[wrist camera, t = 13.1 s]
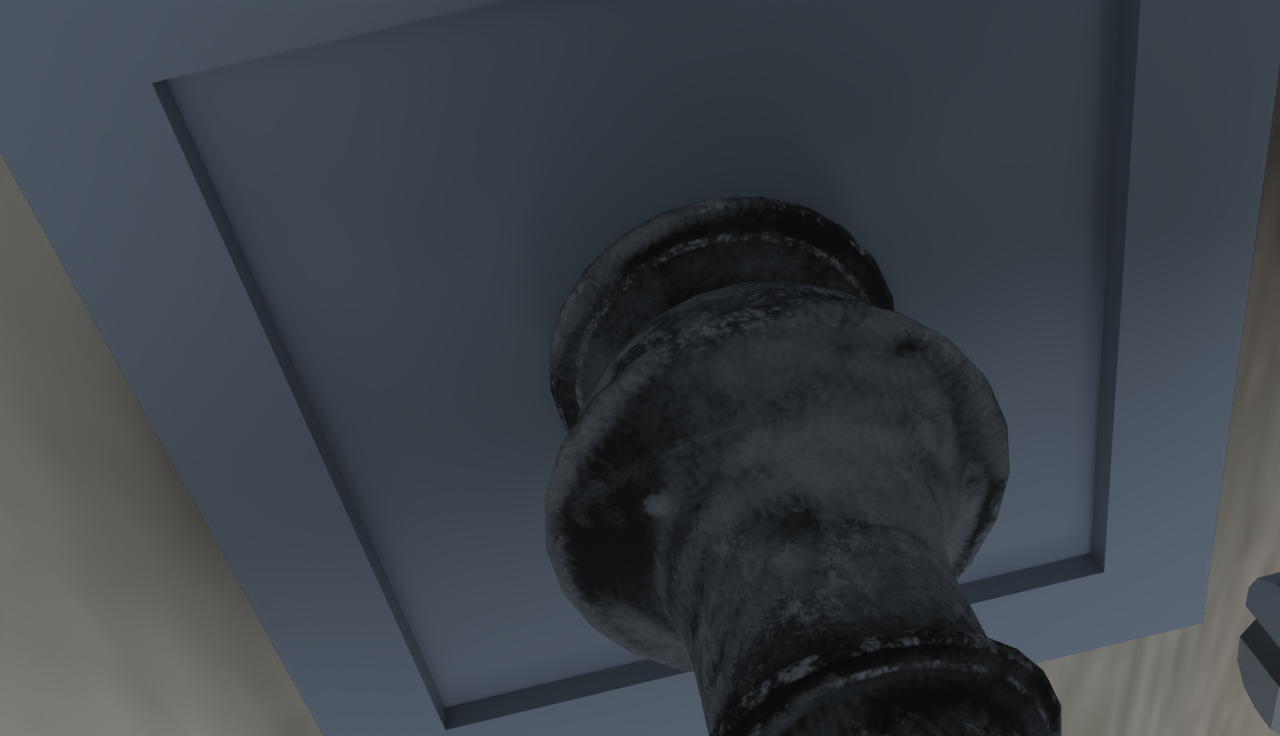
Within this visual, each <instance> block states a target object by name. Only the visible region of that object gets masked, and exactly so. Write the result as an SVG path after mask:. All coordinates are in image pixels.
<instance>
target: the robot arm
mask: <svg viewBox="0 0 1280 736" xmlns="http://www.w3.org/2000/svg"><path fill="white" fill-rule="evenodd" d="M1246 607H1247V608H1248V609H1249V610H1250V612H1251V613H1252V614H1253V615H1254V617H1255V618H1256V619H1255V621H1254V622H1253V623H1252V624H1251V625H1250V626H1249V627H1248V628H1247V629H1246V630H1245V631H1244V633H1243V634H1242V635H1241V636H1240V640H1239V649H1238V658H1237V661H1238V665H1239V669H1240V673H1241V677H1242V681H1243V685H1244V687H1245V689H1246V691H1247V693H1248V695H1249V697H1250V699H1251V701H1252V703H1253V705H1254V707H1255V709H1256V710H1257V711H1258V713H1259V714H1260V715H1261V717H1262V718H1263V720H1264V721H1265V722H1266V724H1267V725H1268V727H1269V728H1270V729H1271V730H1273V731H1275V732H1277V733H1278V734H1280V572H1279V573H1275V574H1271V575H1267V576H1263V577H1259V578H1257V579H1256V580H1255V581H1254V582H1253V583H1252V585H1251V586H1250V587H1249V590H1248V595H1247V600H1246Z"/></svg>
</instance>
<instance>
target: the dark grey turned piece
mask: <svg viewBox="0 0 1280 736" xmlns="http://www.w3.org/2000/svg"><path fill="white" fill-rule="evenodd" d="M550 387H551V392H552V395H553V398H554V401H555V404H556V407H557V410H558V413H559V416H560V418H561V421H562V424H563V427H564V428H565V430H566V431H567V432H568V435H567V437H566V438H565V440H564V441H563V442H562V444H561V446H560V449H559V452H558V455H557V458H556V461H555V465H554V468H553V471H552V474H551V477H550V480H549V484H548V487H547V490H546V493H545V538H546V551H547V553H548V556H549V559H550V561H551V564H552V566H553V569H554V571H555V574H556V577H557V579H558V582H559V584H560V587H561V589H562V592H563V594H564V595H565V596H566V597H567V598H568V600H569V601H570V602H571V603H572V604H573V606H574V607H575V608H576V609H577V610H578V611H579V613H580V614H581V615H582V616H583V617H584V618H585V620H586V621H587V622H588V623H589V624H590V625H591V627H592V628H593V629H595V630H596V631H598V632H600V633H601V634H603V635H604V636H606V637H607V638H609V639H610V640H612V641H614V642H615V643H617V644H618V645H620V646H621V647H623V648H624V649H626V650H628V651H629V652H631V653H632V654H634V655H637V656H640V657H643V658H646V659H649V660H652V661H655V662H658V663H661V664H664V665H667V666H670V667H673V668H676V669H679V670H682V671H689V672H694V673H695V677H696V681H697V686H698V690H699V694H700V699H701V703H702V707H703V712H704V716H705V720H706V725H707V729H708V733H709V736H1061V705H1060V702H1059V700H1058V698H1057V696H1056V694H1055V692H1054V690H1053V688H1052V686H1051V684H1050V682H1049V680H1048V678H1047V676H1046V674H1045V673H1044V671H1043V670H1042V669H1041V668H1040V667H1038V666H1037V665H1036V664H1035V663H1034V662H1032V661H1031V660H1030V659H1029V658H1028V657H1026V656H1025V655H1024V654H1023V653H1022V652H1021V651H1019V650H1018V649H1017V648H1014V647H1012V646H1009V645H1006V644H1004V643H1001V642H998V641H996V640H993V639H991V638H988V637H987V635H986V634H985V632H984V630H983V628H982V626H981V624H980V622H979V620H978V619H977V617H976V615H975V613H974V611H973V609H972V607H971V605H970V604H969V602H968V600H967V598H966V596H965V594H964V592H963V590H962V589H961V587H960V585H959V583H958V581H957V579H958V578H959V577H960V576H961V575H962V573H963V572H964V571H965V570H966V569H967V568H968V567H969V566H970V565H971V563H972V561H973V560H974V558H975V556H976V555H977V553H978V551H979V549H980V548H981V546H982V544H983V543H984V541H985V539H986V537H987V536H988V534H989V532H990V531H991V529H992V527H993V525H994V524H995V522H996V520H997V519H998V515H999V511H1000V507H1001V504H1002V500H1003V496H1004V492H1005V489H1006V485H1007V481H1008V477H1009V473H1010V462H1009V445H1008V427H1007V422H1006V420H1005V418H1004V415H1003V413H1002V411H1001V409H1000V406H999V404H998V402H997V399H996V397H995V395H994V392H993V390H992V388H991V385H990V383H989V381H988V379H987V378H986V377H985V375H984V374H983V373H982V372H981V371H980V370H979V369H978V368H977V367H976V366H975V365H974V364H973V363H972V362H971V361H970V360H969V359H968V357H967V356H966V355H965V354H964V353H963V352H962V351H961V350H960V349H959V348H958V347H957V346H956V345H955V344H954V343H953V342H952V341H951V340H950V339H949V338H947V337H945V336H943V335H942V334H940V333H938V332H936V331H934V330H932V329H930V328H928V327H926V326H925V325H923V324H921V323H919V322H917V321H915V320H913V319H911V318H909V317H907V316H906V315H904V314H902V313H900V312H896V311H895V310H894V301H893V296H892V294H891V292H890V290H889V288H888V285H887V283H886V281H885V279H884V277H883V275H882V273H881V271H880V268H879V266H878V264H877V262H876V261H875V259H874V258H873V257H872V256H871V254H870V253H869V252H868V251H867V250H866V249H865V248H864V247H863V246H862V245H861V244H860V243H859V242H858V241H857V240H856V239H855V238H854V237H853V236H852V235H851V234H850V232H849V231H848V230H847V229H846V228H844V227H842V226H840V225H839V224H837V223H835V222H833V221H831V220H830V219H828V218H826V217H824V216H822V215H820V214H819V213H817V212H815V211H813V210H811V209H810V208H808V207H804V206H800V205H795V204H791V203H787V202H782V201H778V200H774V199H769V198H765V197H740V198H712V199H709V200H705V201H702V202H698V203H694V204H691V205H687V206H683V207H680V208H676V209H673V210H669V211H665V212H663V213H661V214H660V215H658V216H656V217H654V218H652V219H651V220H649V221H647V222H645V223H643V224H642V225H640V226H638V227H636V228H634V229H632V230H631V231H629V232H627V233H625V234H623V235H622V236H620V237H619V238H618V239H617V240H616V241H615V242H614V243H613V244H612V245H611V246H610V247H608V248H607V249H606V250H605V251H604V252H603V253H602V254H601V255H600V256H599V257H598V258H597V259H595V260H594V261H593V262H592V263H591V264H590V265H589V266H588V267H587V268H586V269H585V271H584V272H583V274H582V275H581V277H580V278H579V280H578V282H577V283H576V285H575V286H574V288H573V289H572V291H571V293H570V294H569V296H568V297H567V299H566V300H565V302H564V304H563V305H562V307H561V310H560V314H559V317H558V320H557V324H556V327H555V331H554V334H553V337H552V341H551V344H550Z"/></svg>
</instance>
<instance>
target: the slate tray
mask: <svg viewBox="0 0 1280 736" xmlns="http://www.w3.org/2000/svg"><path fill="white" fill-rule="evenodd" d="M1279 68H1280V0H0V153H1V154H2V156H3V158H4V160H5V162H6V163H7V165H8V167H9V169H10V171H11V172H12V174H13V176H14V178H15V180H16V182H17V183H18V185H19V187H20V189H21V191H22V192H23V194H24V196H25V198H26V200H27V201H28V203H29V205H30V207H31V209H32V210H33V212H34V214H35V216H36V218H37V219H38V221H39V223H40V225H41V227H42V228H43V230H44V232H45V234H46V236H47V238H48V239H49V241H50V243H51V245H52V247H53V248H54V250H55V252H56V254H57V256H58V257H59V259H60V261H61V263H62V265H63V266H64V268H65V270H66V272H67V274H68V275H69V277H70V279H71V281H72V283H73V284H74V286H75V288H76V290H77V292H78V294H79V295H80V297H81V299H82V301H83V303H84V304H85V306H86V308H87V310H88V312H89V313H90V315H91V317H92V319H93V321H94V322H95V324H96V326H97V328H98V330H99V331H100V333H101V335H102V337H103V339H104V340H105V342H106V344H107V346H108V348H109V349H110V351H111V353H112V355H113V357H114V359H115V360H116V362H117V364H118V366H119V368H120V369H121V371H122V373H123V375H124V377H125V378H126V380H127V382H128V384H129V386H130V387H131V389H132V391H133V393H134V395H135V396H136V398H137V400H138V402H139V404H140V405H141V407H142V409H143V411H144V413H145V415H146V416H147V418H148V420H149V422H150V424H151V425H152V427H153V429H154V431H155V433H156V434H157V436H158V438H159V440H160V442H161V443H162V445H163V447H164V449H165V451H166V452H167V454H168V456H169V458H170V460H171V461H172V463H173V465H174V467H175V469H176V471H177V472H178V474H179V476H180V478H181V480H182V481H183V483H184V485H185V487H186V489H187V490H188V492H189V494H190V496H191V498H192V499H193V501H194V503H195V505H196V507H197V508H198V510H199V512H200V514H201V516H202V517H203V519H204V521H205V523H206V525H207V526H208V528H209V530H210V532H211V534H212V536H213V537H214V539H215V541H216V543H217V545H218V546H219V548H220V550H221V552H222V554H223V555H224V557H225V559H226V561H227V563H228V564H229V566H230V568H231V570H232V572H233V573H234V575H235V577H236V579H237V581H238V582H239V584H240V586H241V588H242V590H243V592H244V593H245V595H246V597H247V599H248V601H249V602H250V604H251V606H252V608H253V610H254V611H255V613H256V615H257V617H258V619H259V620H260V622H261V624H262V626H263V628H264V629H265V631H266V633H267V635H268V637H269V638H270V640H271V642H272V644H273V646H274V648H275V649H276V651H277V653H278V655H279V657H280V658H281V660H282V662H283V664H284V666H285V667H286V669H287V671H288V673H289V675H290V676H291V678H292V680H293V682H294V684H295V685H296V687H297V689H298V691H299V693H300V694H301V696H302V698H303V700H304V702H305V703H306V705H307V707H308V709H309V711H310V713H311V714H312V716H313V718H314V720H315V722H316V723H317V725H318V727H319V729H320V731H321V732H322V734H323V736H709V733H708V729H707V725H706V720H705V716H704V712H703V707H702V703H701V699H700V694H699V690H698V686H697V681H696V677H695V673H694V672H689V671H682V670H679V669H676V668H673V667H670V666H667V665H664V664H661V663H658V662H655V661H652V660H649V659H646V658H643V657H640V656H637V655H634V654H632V653H631V652H629V651H628V650H626V649H624V648H623V647H621V646H620V645H618V644H617V643H615V642H614V641H612V640H610V639H609V638H607V637H606V636H604V635H603V634H601V633H600V632H598V631H596V630H595V629H593V628H592V627H591V625H590V624H589V623H588V622H587V621H586V620H585V618H584V617H583V616H582V615H581V614H580V613H579V611H578V610H577V609H576V608H575V607H574V606H573V604H572V603H571V602H570V601H569V600H568V598H567V597H566V596H565V595H564V594H563V592H562V589H561V587H560V584H559V582H558V579H557V577H556V574H555V571H554V569H553V566H552V564H551V561H550V559H549V556H548V553H547V551H546V538H545V493H546V490H547V487H548V484H549V480H550V477H551V474H552V471H553V468H554V465H555V461H556V458H557V455H558V452H559V449H560V446H561V444H562V442H563V441H564V440H565V438H566V437H567V435H568V432H567V431H566V430H565V428H564V427H563V424H562V421H561V418H560V416H559V413H558V410H557V407H556V404H555V401H554V398H553V395H552V392H551V387H550V344H551V341H552V337H553V334H554V331H555V327H556V324H557V320H558V317H559V314H560V310H561V307H562V305H563V304H564V302H565V300H566V299H567V297H568V296H569V294H570V293H571V291H572V289H573V288H574V286H575V285H576V283H577V282H578V280H579V278H580V277H581V275H582V274H583V272H584V271H585V269H586V268H587V267H588V266H589V265H590V264H591V263H592V262H593V261H594V260H595V259H597V258H598V257H599V256H600V255H601V254H602V253H603V252H604V251H605V250H606V249H607V248H608V247H610V246H611V245H612V244H613V243H614V242H615V241H616V240H617V239H618V238H619V237H620V236H622V235H623V234H625V233H627V232H629V231H631V230H632V229H634V228H636V227H638V226H640V225H642V224H643V223H645V222H647V221H649V220H651V219H652V218H654V217H656V216H658V215H660V214H661V213H663V212H665V211H669V210H673V209H676V208H680V207H683V206H687V205H691V204H694V203H698V202H702V201H705V200H709V199H712V198H740V197H765V198H769V199H774V200H778V201H782V202H787V203H791V204H795V205H800V206H804V207H808V208H810V209H811V210H813V211H815V212H817V213H819V214H820V215H822V216H824V217H826V218H828V219H830V220H831V221H833V222H835V223H837V224H839V225H840V226H842V227H844V228H846V229H847V230H848V231H849V232H850V234H851V235H852V236H853V237H854V238H855V239H856V240H857V241H858V242H859V243H860V244H861V245H862V246H863V247H864V248H865V249H866V250H867V251H868V252H869V253H870V254H871V256H872V257H873V258H874V259H875V261H876V262H877V264H878V266H879V268H880V271H881V273H882V275H883V277H884V279H885V281H886V283H887V285H888V288H889V290H890V292H891V294H892V296H893V301H894V310H895V311H896V312H900V313H902V314H904V315H906V316H907V317H909V318H911V319H913V320H915V321H917V322H919V323H921V324H923V325H925V326H926V327H928V328H930V329H932V330H934V331H936V332H938V333H940V334H942V335H943V336H945V337H947V338H949V339H950V340H951V341H952V342H953V343H954V344H955V345H956V346H957V347H958V348H959V349H960V350H961V351H962V352H963V353H964V354H965V355H966V356H967V357H968V359H969V360H970V361H971V362H972V363H973V364H974V365H975V366H976V367H977V368H978V369H979V370H980V371H981V372H982V373H983V374H984V375H985V377H986V378H987V379H988V381H989V383H990V385H991V388H992V390H993V392H994V395H995V397H996V399H997V402H998V404H999V406H1000V409H1001V411H1002V413H1003V415H1004V418H1005V420H1006V422H1007V427H1008V445H1009V462H1010V473H1009V477H1008V481H1007V485H1006V489H1005V492H1004V496H1003V500H1002V504H1001V507H1000V511H999V515H998V519H997V520H996V522H995V524H994V525H993V527H992V529H991V531H990V532H989V534H988V536H987V537H986V539H985V541H984V543H983V544H982V546H981V548H980V549H979V551H978V553H977V555H976V556H975V558H974V560H973V561H972V563H971V565H970V566H969V567H968V568H967V569H966V570H965V571H964V572H963V573H962V575H961V576H960V577H959V578H958V579H957V581H958V583H959V585H960V587H961V589H962V590H963V592H964V594H965V596H966V598H967V600H968V602H969V604H970V605H971V607H972V609H973V611H974V613H975V615H976V617H977V619H978V620H979V622H980V624H981V626H982V628H983V630H984V632H985V634H986V635H987V637H988V638H991V639H993V640H996V641H998V642H1001V643H1004V644H1006V645H1009V646H1012V647H1014V648H1017V649H1018V650H1019V651H1021V652H1022V653H1023V654H1024V655H1025V656H1026V657H1028V658H1029V659H1030V660H1031V661H1032V662H1034V663H1038V662H1042V661H1046V660H1050V659H1054V658H1058V657H1062V656H1067V655H1071V654H1075V653H1079V652H1083V651H1087V650H1092V649H1096V648H1100V647H1104V646H1108V645H1112V644H1117V643H1121V642H1125V641H1129V640H1133V639H1137V638H1141V637H1146V636H1150V635H1154V634H1158V633H1162V632H1166V631H1171V630H1175V629H1179V628H1183V627H1187V626H1191V625H1195V624H1200V623H1203V616H1204V609H1205V602H1206V595H1207V587H1208V580H1209V573H1210V566H1211V559H1212V551H1213V544H1214V537H1215V530H1216V522H1217V515H1218V508H1219V501H1220V494H1221V486H1222V479H1223V472H1224V465H1225V458H1226V450H1227V443H1228V436H1229V429H1230V421H1231V414H1232V407H1233V400H1234V393H1235V385H1236V378H1237V371H1238V364H1239V357H1240V349H1241V342H1242V335H1243V328H1244V320H1245V313H1246V306H1247V299H1248V292H1249V284H1250V277H1251V270H1252V263H1253V255H1254V248H1255V241H1256V234H1257V227H1258V219H1259V212H1260V205H1261V198H1262V191H1263V183H1264V176H1265V169H1266V162H1267V154H1268V147H1269V140H1270V133H1271V126H1272V118H1273V111H1274V104H1275V97H1276V90H1277V82H1278V75H1279Z"/></svg>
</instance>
